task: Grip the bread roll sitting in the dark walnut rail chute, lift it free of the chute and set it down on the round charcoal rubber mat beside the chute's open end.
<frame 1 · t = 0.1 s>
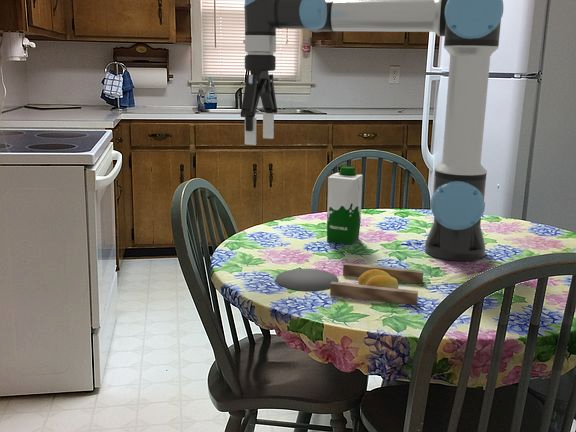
hand: (259, 141, 159), 28 cm above the table, fingers open, 13 cm apart
bread roll: (377, 289, 139), on the table
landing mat: (306, 279, 143), on the table
chute: (377, 288, 138), on the table
milk carton: (342, 240, 175), on the table
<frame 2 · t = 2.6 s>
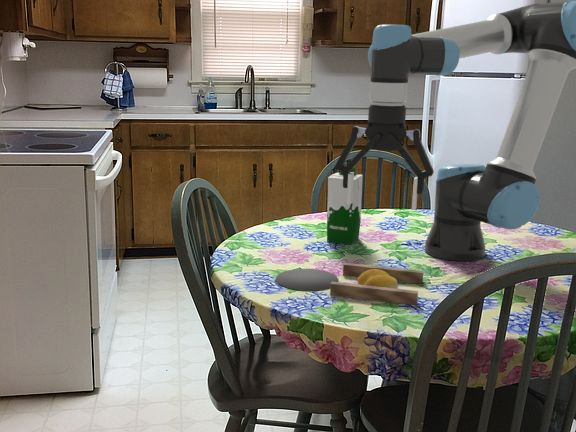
hand: (381, 206, 134), 18 cm above the table, fingers open, 13 cm apart
nothing on the table moved.
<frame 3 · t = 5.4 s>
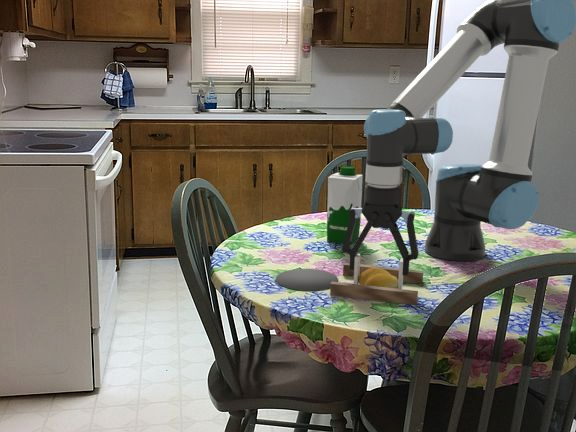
hand: (378, 286, 138), 0 cm above the table, fingers closed on bread roll, 9 cm apart
bread roll: (377, 288, 139), on the table, touching gripper
everything else where it was.
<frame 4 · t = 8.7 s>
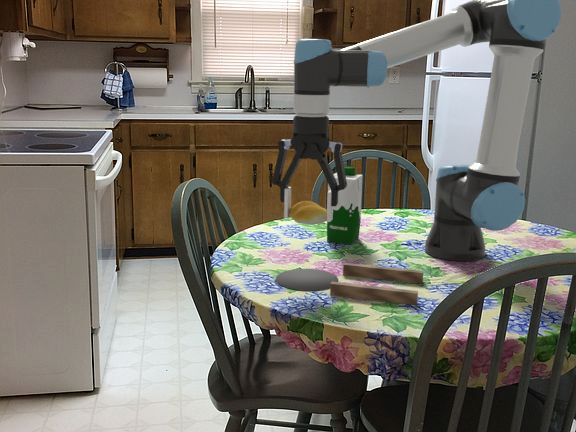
hand: (308, 218, 139), 14 cm above the table, fingers closed on bread roll, 9 cm apart
bread roll: (308, 221, 140), point 14 cm above the table, touching gripper
everything else where it was.
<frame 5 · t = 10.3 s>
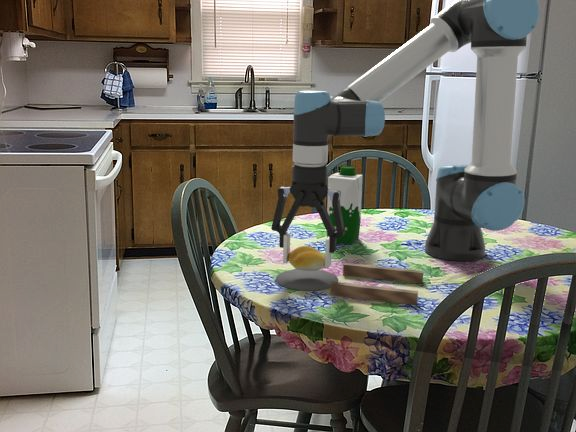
hand: (306, 263, 142), 4 cm above the table, fingers closed on bread roll, 9 cm apart
bread roll: (306, 266, 142), point 3 cm above the table, touching gripper
everything else where it was.
when the fingers open (2 cm above the table, at t = 11.7 s): bread roll drops 1 cm, resting on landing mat.
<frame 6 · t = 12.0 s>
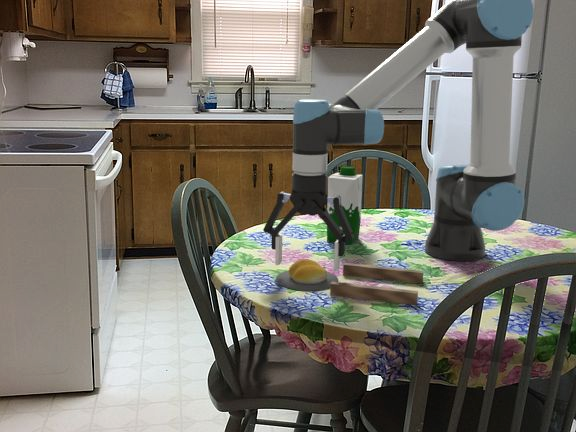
hand: (307, 266, 142), 3 cm above the table, fingers open, 13 cm apart
bread roll: (307, 279, 143), resting on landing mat
everything else where it was.
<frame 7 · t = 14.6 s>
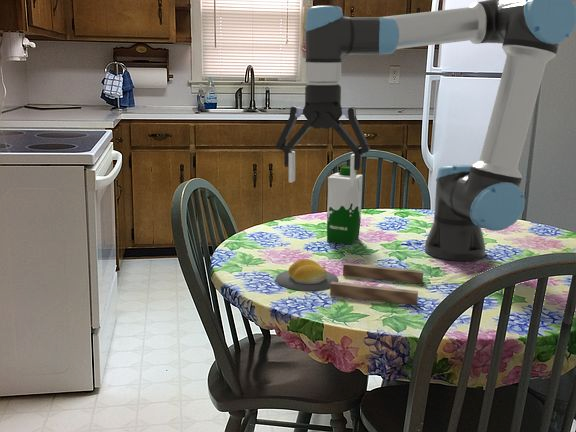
hand: (321, 183, 138), 22 cm above the table, fingers open, 13 cm apart
nothing on the table moved.
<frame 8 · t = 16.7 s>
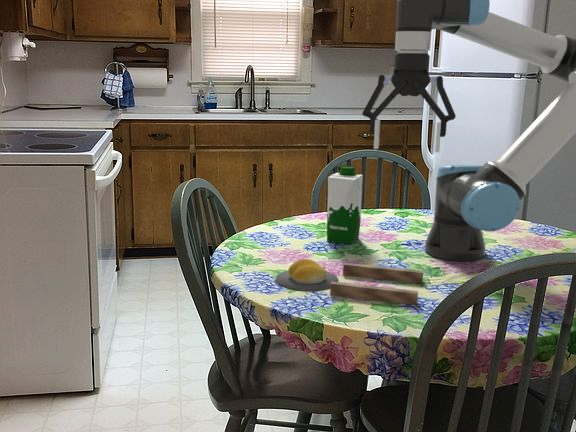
hand: (406, 150, 143), 29 cm above the table, fingers open, 13 cm apart
nothing on the table moved.
at the end: bread roll inside the target area on the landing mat (0.2 cm from its centre), point 0.1 cm above the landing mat's base; the gripper is holding nothing; bread roll moved 16.0 cm from its start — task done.
